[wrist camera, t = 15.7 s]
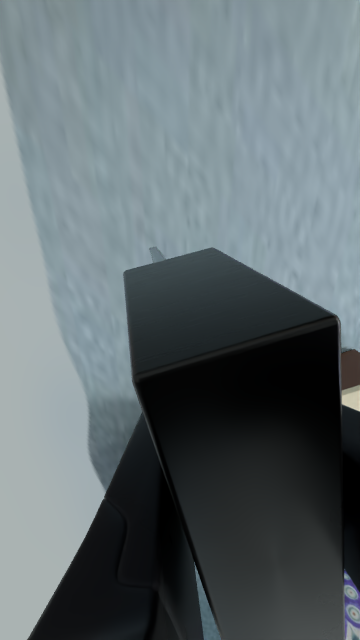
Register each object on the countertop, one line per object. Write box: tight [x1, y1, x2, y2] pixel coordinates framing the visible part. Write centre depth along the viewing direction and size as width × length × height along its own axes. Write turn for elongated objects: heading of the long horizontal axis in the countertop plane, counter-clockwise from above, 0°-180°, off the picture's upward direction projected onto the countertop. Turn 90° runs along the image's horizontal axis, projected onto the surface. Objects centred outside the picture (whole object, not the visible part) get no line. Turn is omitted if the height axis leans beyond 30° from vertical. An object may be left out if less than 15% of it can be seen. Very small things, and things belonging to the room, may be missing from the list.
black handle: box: [123, 247, 345, 640], centre depth 9 cm, size 2×8×10 cm, turn 13°
